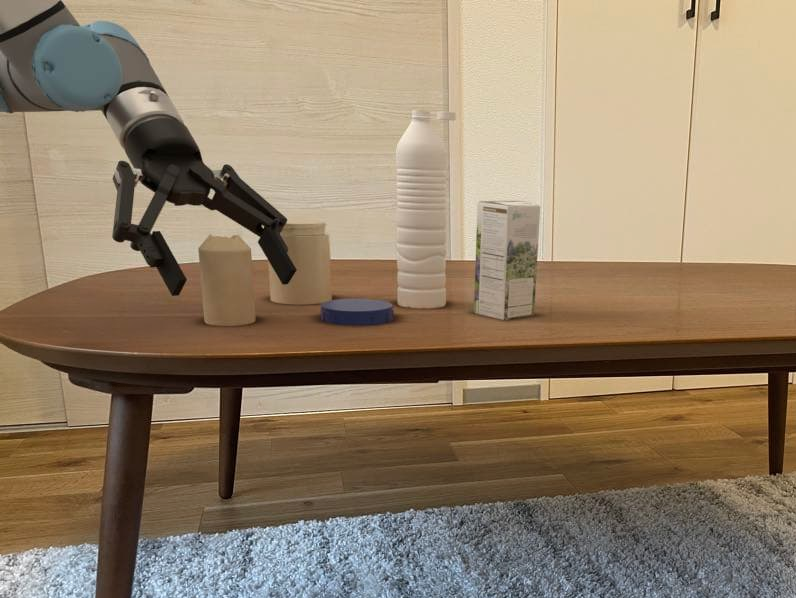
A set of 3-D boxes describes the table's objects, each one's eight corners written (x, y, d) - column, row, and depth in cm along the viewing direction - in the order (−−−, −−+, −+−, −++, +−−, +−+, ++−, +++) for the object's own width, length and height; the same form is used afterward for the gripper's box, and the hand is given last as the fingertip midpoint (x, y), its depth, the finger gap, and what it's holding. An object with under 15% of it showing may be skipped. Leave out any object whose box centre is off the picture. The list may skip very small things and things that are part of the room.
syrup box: (504, 310, 105) (507, 199, 101) (536, 317, 101) (541, 202, 97) (473, 314, 101) (475, 199, 96) (505, 322, 97) (508, 202, 93)
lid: (362, 311, 100) (361, 296, 99) (407, 321, 95) (407, 305, 95) (306, 319, 94) (305, 303, 93) (352, 330, 89) (351, 314, 88)
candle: (254, 317, 93) (249, 232, 90) (256, 326, 88) (251, 237, 85) (205, 318, 91) (197, 232, 88) (204, 328, 86) (196, 236, 83)
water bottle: (419, 311, 101) (418, 107, 94) (387, 304, 105) (384, 107, 98) (467, 305, 107) (470, 112, 100) (436, 298, 111) (436, 113, 104)
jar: (294, 308, 100) (290, 224, 97) (258, 299, 104) (253, 219, 101) (344, 301, 106) (341, 222, 103) (307, 293, 110) (304, 218, 107)
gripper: (45, 104, 79) (135, 269, 75) (261, 122, 98) (341, 254, 94) (31, 157, 84) (114, 315, 80) (240, 164, 103) (316, 292, 99)
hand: (238, 282), depth 87 cm, fingers open, 13 cm apart
